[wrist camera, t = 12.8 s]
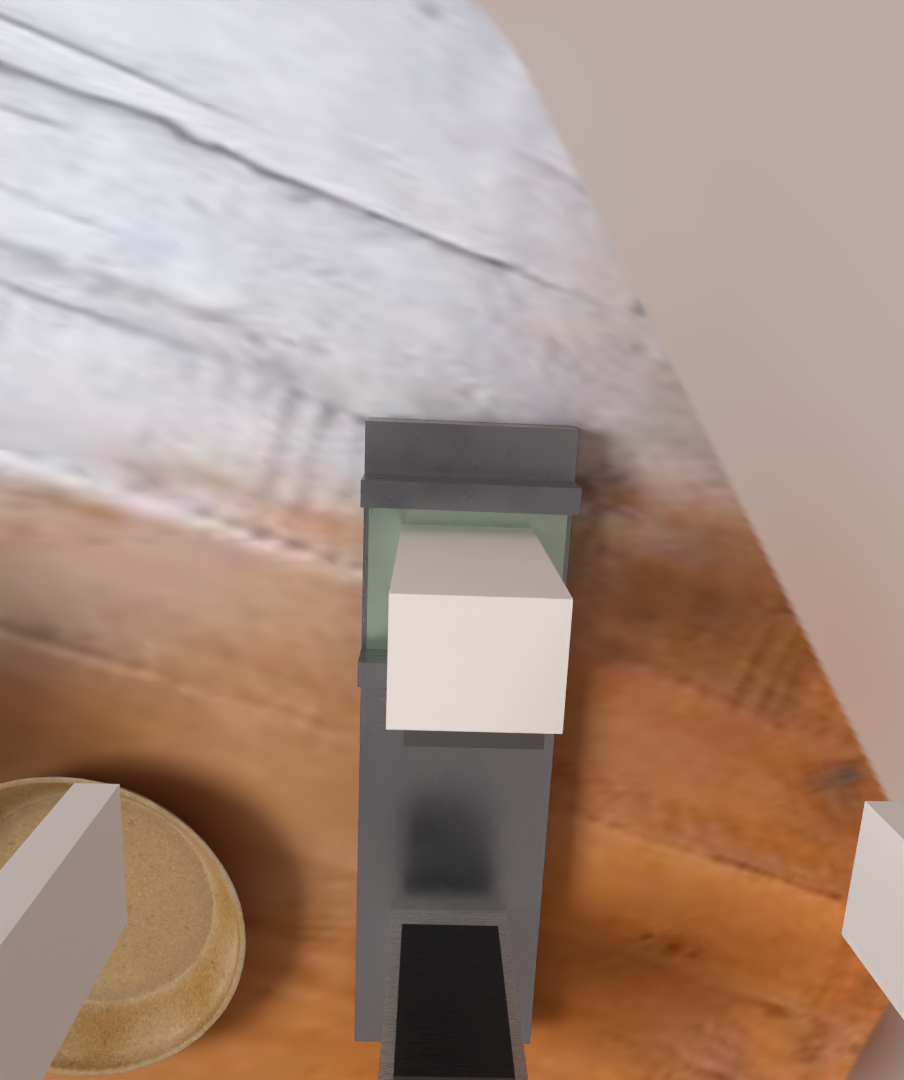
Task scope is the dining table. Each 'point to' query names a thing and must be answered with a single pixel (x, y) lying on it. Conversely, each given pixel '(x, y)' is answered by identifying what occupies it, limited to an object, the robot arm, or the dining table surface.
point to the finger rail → (450, 775)
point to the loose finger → (476, 639)
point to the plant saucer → (146, 935)
